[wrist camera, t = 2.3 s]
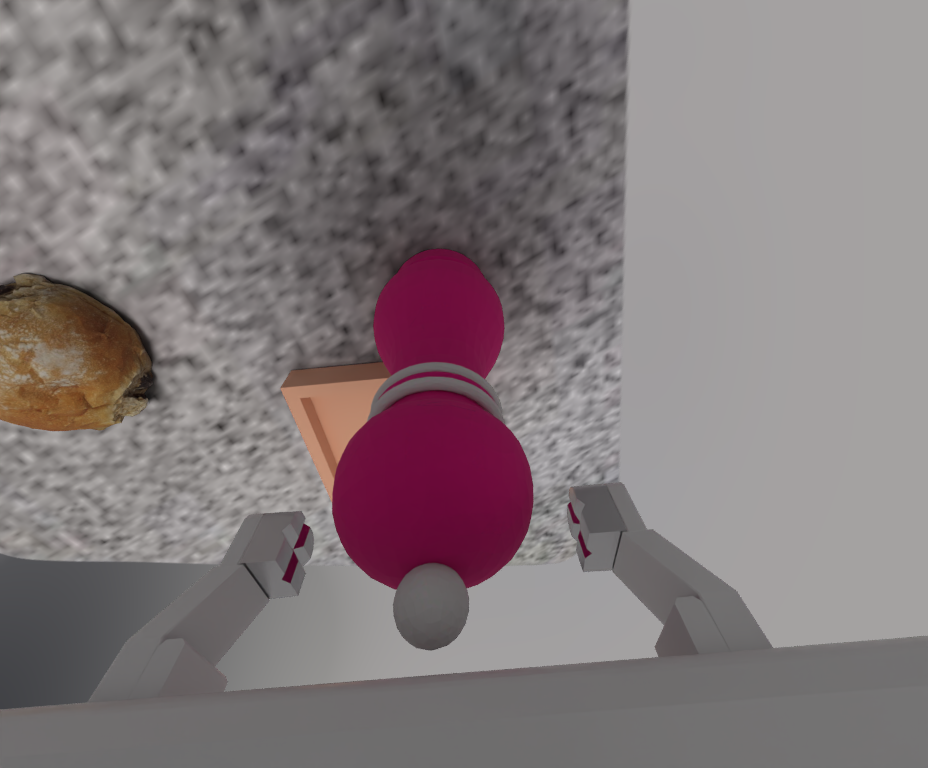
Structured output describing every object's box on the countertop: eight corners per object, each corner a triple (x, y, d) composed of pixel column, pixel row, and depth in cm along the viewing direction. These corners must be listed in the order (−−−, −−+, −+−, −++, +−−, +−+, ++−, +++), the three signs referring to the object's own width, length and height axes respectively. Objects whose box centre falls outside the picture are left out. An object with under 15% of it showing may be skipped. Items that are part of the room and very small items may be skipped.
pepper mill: (493, 234, 22) (626, 536, 6) (496, 340, 26) (580, 691, 10) (374, 245, 22) (178, 572, 6) (395, 349, 27) (315, 712, 10)
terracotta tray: (291, 370, 27) (280, 387, 25) (468, 353, 27) (470, 370, 25) (340, 487, 35) (334, 507, 33) (479, 475, 34) (481, 494, 33)
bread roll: (144, 265, 26) (-5, 244, 18) (198, 403, 28) (82, 438, 20) (28, 302, 27) (-160, 297, 19) (85, 433, 29) (-66, 477, 21)
